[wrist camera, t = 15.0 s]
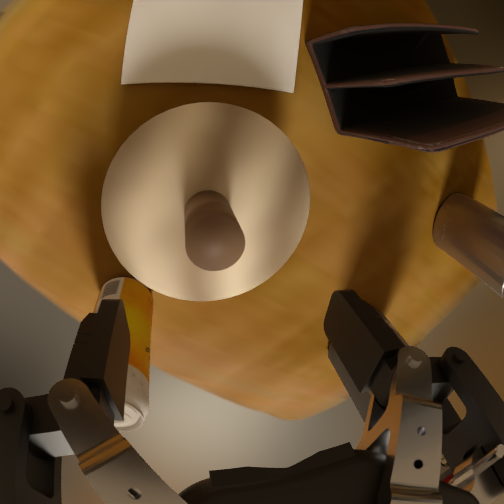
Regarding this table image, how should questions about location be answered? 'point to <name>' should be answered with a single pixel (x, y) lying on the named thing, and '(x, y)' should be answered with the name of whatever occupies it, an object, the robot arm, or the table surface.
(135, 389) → the beer can
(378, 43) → the letter holder
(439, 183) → the table surface
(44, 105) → the table surface
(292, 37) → the mat
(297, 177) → the lid
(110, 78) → the table surface
